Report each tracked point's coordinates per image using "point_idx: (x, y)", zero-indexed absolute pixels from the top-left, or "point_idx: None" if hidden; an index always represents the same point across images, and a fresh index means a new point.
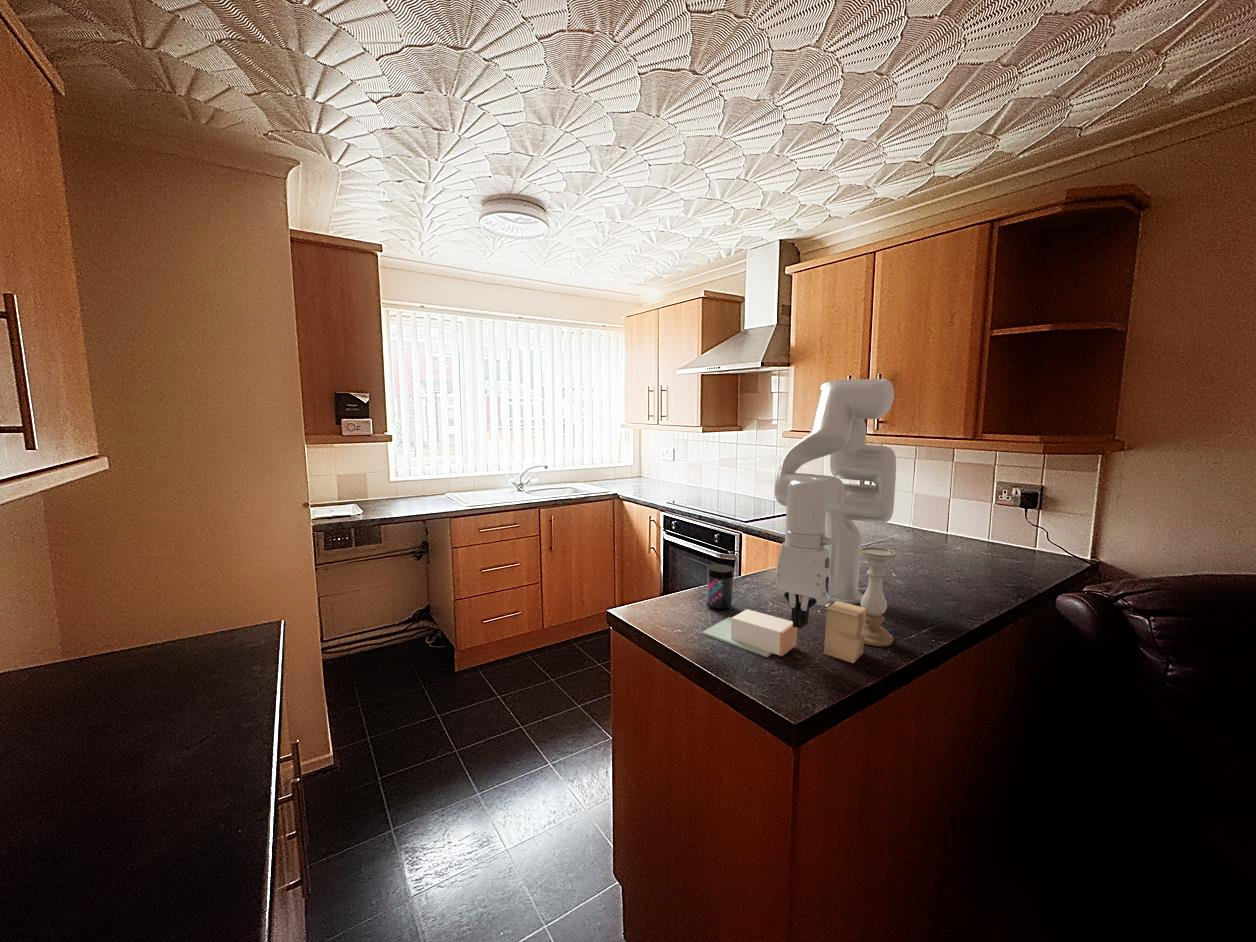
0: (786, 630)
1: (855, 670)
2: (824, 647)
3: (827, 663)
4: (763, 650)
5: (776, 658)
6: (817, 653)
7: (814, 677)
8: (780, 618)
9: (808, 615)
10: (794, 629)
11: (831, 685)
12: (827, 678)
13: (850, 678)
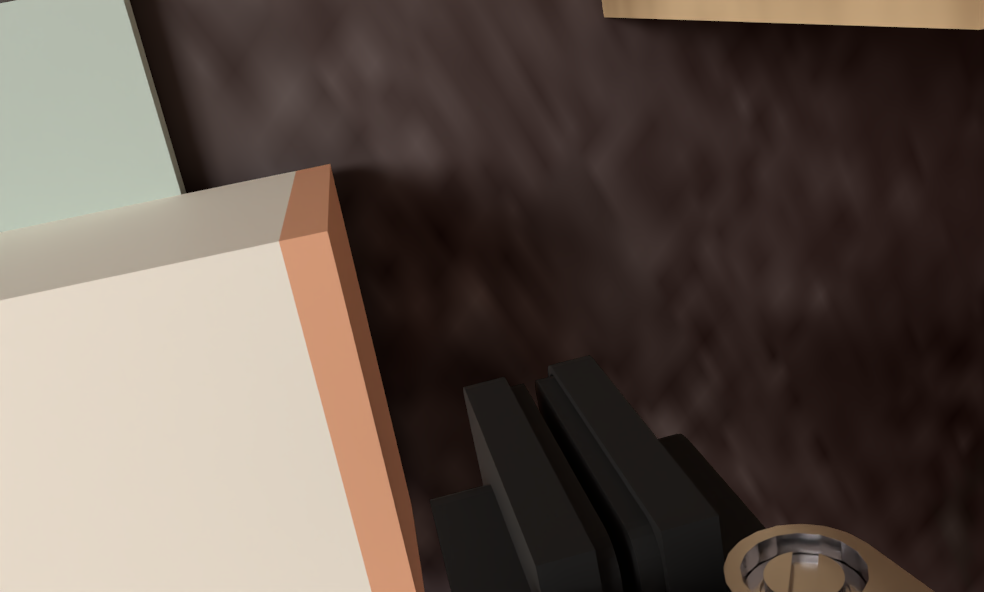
0: (413, 583)
1: (965, 89)
2: (630, 16)
3: (732, 191)
4: None
5: None
6: (556, 76)
7: (771, 503)
8: (18, 305)
9: (728, 493)
10: (347, 296)
11: (912, 489)
12: (848, 428)
13: (980, 266)
